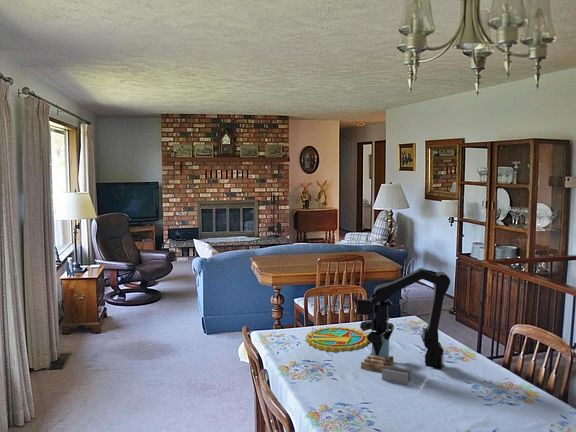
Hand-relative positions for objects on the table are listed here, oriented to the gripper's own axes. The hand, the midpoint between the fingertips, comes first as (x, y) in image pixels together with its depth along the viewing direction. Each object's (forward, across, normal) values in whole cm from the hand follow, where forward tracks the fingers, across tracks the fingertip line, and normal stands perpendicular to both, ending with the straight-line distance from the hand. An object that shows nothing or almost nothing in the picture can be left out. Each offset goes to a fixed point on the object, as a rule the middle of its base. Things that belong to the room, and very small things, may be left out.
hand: (380, 351), depth 215 cm
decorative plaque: (+6, -18, -27) cm, 33 cm away
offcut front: (+5, +4, 0) cm, 6 cm away
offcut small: (+5, +8, +1) cm, 9 cm away
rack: (+5, +3, 0) cm, 6 cm away
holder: (+5, +14, +11) cm, 19 cm away
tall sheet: (+5, 0, 0) cm, 5 cm away
